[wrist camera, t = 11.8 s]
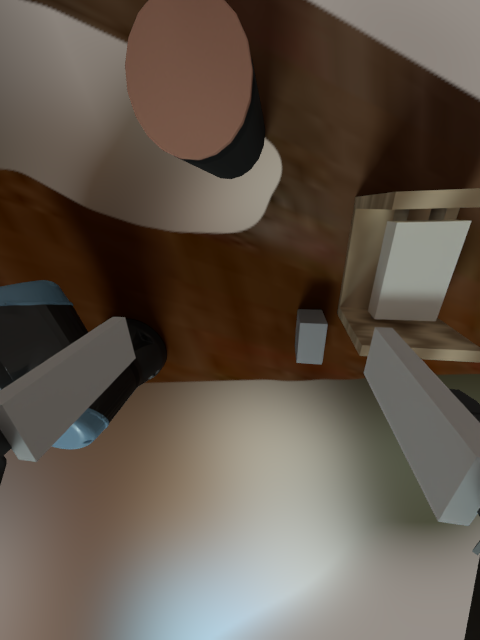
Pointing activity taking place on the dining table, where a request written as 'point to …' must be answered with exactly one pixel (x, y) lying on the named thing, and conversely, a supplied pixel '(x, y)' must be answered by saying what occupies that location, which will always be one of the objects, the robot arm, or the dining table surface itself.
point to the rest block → (310, 336)
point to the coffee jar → (196, 84)
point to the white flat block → (416, 268)
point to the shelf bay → (363, 261)
